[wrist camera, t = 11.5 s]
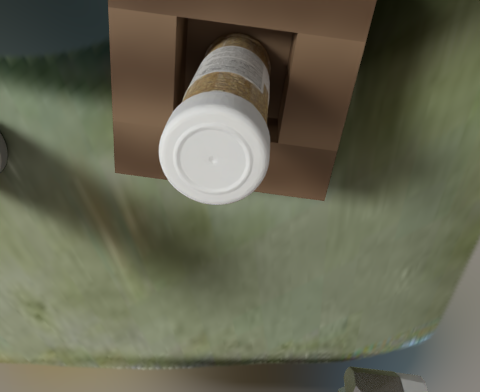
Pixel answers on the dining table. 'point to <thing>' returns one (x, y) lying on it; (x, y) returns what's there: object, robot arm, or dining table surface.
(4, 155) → the travel mug
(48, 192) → the dining table surface
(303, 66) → the walnut socket block
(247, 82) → the sprinkles bottle
